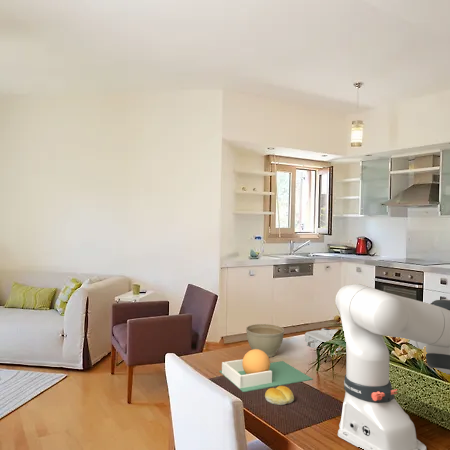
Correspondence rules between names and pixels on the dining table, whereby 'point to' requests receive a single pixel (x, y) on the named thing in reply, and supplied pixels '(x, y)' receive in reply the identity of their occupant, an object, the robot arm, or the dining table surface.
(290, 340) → the dining table surface
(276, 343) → the planter bowl
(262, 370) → the ball
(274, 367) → the putting mat
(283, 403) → the bread roll
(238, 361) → the white open box
